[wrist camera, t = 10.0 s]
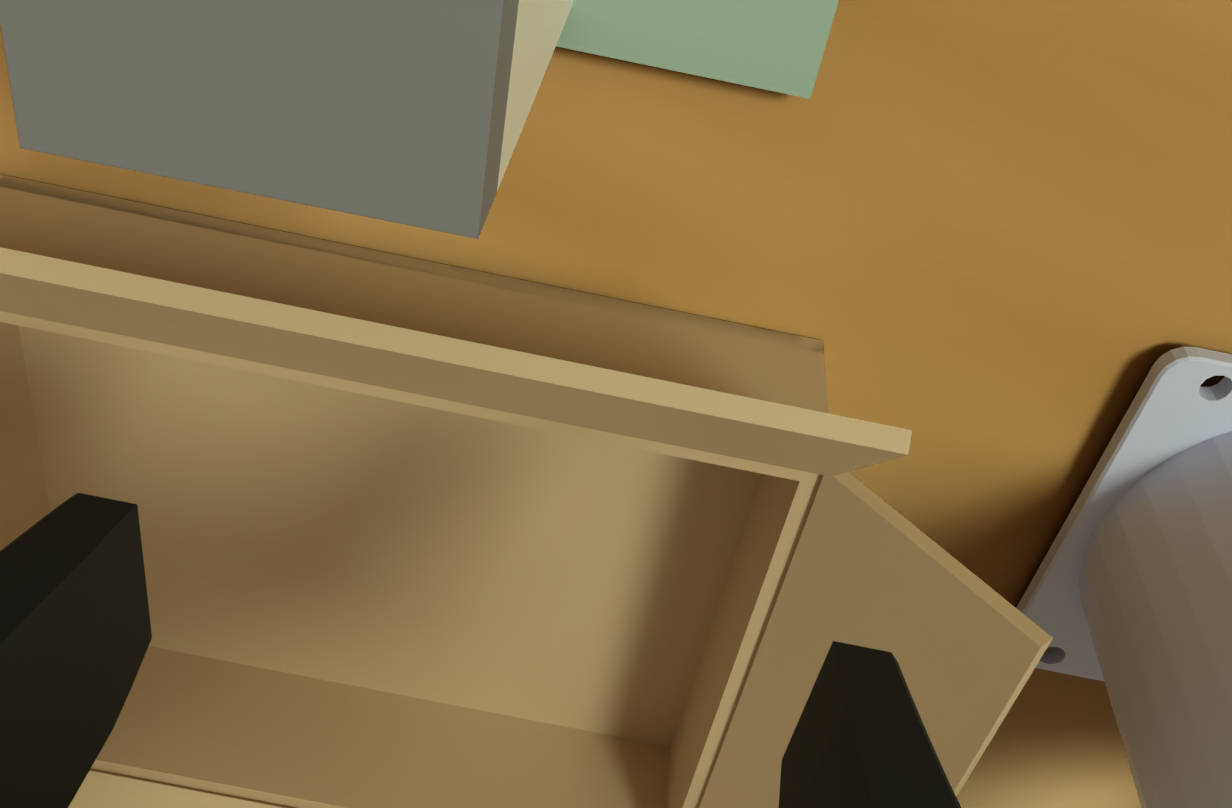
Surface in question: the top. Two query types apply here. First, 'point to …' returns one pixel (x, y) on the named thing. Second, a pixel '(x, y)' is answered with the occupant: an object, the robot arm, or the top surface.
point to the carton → (459, 525)
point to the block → (290, 95)
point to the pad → (710, 38)
